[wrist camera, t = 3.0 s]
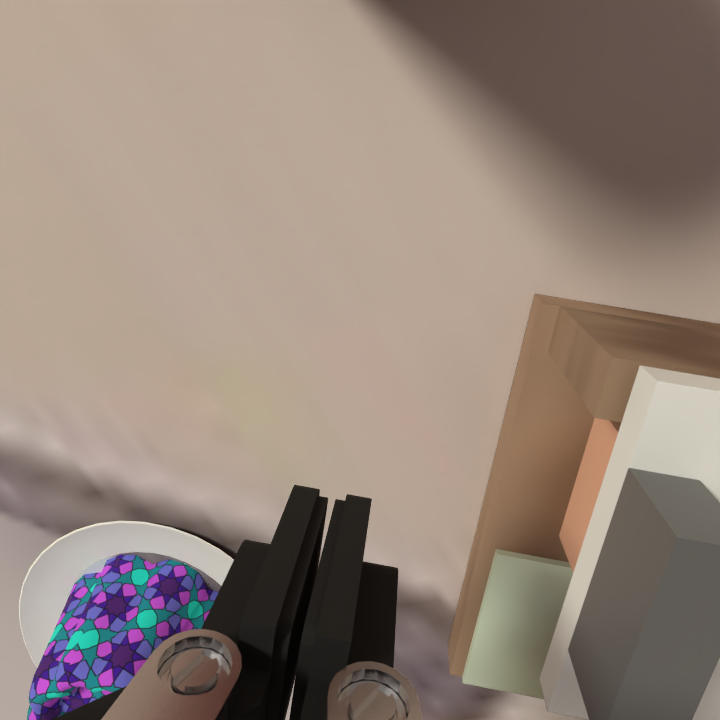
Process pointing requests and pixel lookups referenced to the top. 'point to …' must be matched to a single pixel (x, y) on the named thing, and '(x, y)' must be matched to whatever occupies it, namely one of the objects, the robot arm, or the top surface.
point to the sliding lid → (648, 567)
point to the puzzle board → (552, 474)
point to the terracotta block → (587, 486)
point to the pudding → (109, 608)
